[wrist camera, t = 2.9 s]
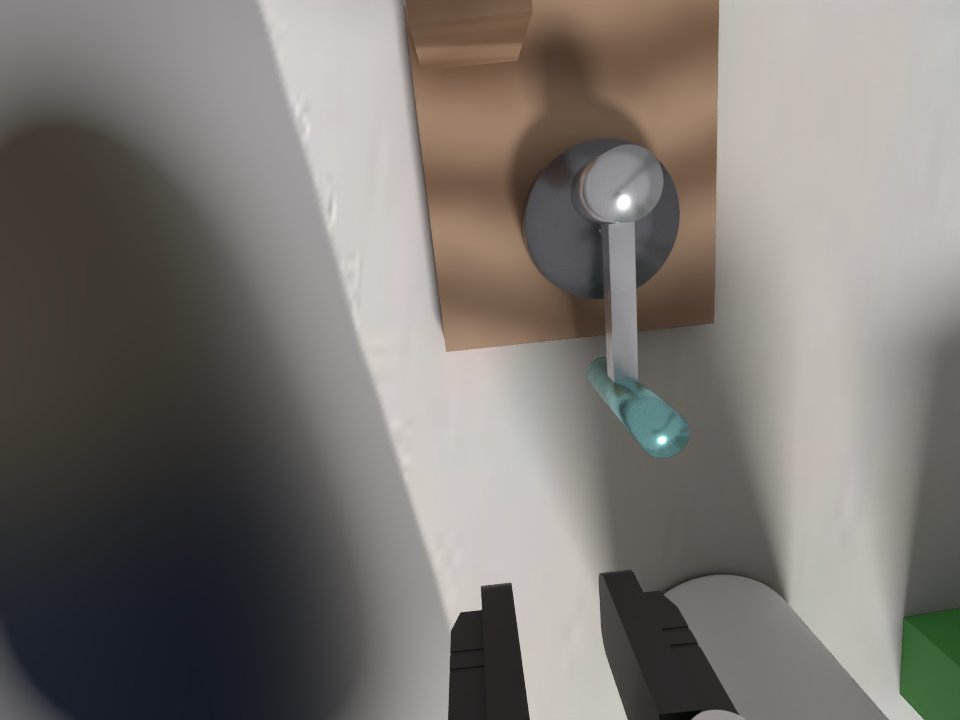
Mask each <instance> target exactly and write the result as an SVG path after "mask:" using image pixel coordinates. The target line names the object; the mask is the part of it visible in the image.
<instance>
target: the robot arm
mask: <svg viewBox="0 0 960 720" xmlns="http://www.w3.org/2000/svg"><path fill="white" fill-rule="evenodd" d="M599 595H600V615H601V631H602V638H603V643H604V648H605V652H606V656H607V659H608V662H609V665H610V668H611V671H612V674H613V677H614V680H615V683H616V686H617V689H618V692H619V695H620V698H621V701H622V704H623V707H624V710H625V713H626V716H627V719H628V720H747V719H746V718H744V717H742V716H740V715H739V713H738V712H737V710H736V708H735V707H734V705H733V703H732V701H731V700H730V698H729V696H728V694H727V693H726V691H725V689H724V687H723V686H722V684H721V682H720V680H719V679H718V677H717V675H716V673H715V672H714V670H713V668H712V666H711V665H710V663H709V661H708V659H707V658H706V656H705V654H704V652H703V651H702V649H701V647H700V646H698V642H697V640H696V638H695V636H694V635H693V633H692V631H691V630H689V627H688V624H687V622H686V621H685V619H684V617H683V615H682V614H681V612H680V610H679V608H678V607H677V606H676V605H675V604H674V603H673V602H671V601H670V600H669V599H668V598H667V597H666V596H664V595H663V594H662V593H661V592H660V591H654V592H645V593H643V591H642V589H641V587H640V585H639V583H638V581H637V579H636V577H635V575H634V573H633V572H632V571H631V570H624V571H615V572H606V573H600V574H599ZM481 597H482V610H480V611H470V612H461V613H460V615H459V617H458V619H457V621H456V623H455V625H454V626H453V628H452V630H451V648H450V649H451V650H450V653H451V656H450V679H449V681H450V682H449V711H448V720H530V718H529V711H528V703H527V696H526V688H525V681H524V674H523V666H522V659H521V651H520V644H519V636H518V629H517V622H516V614H515V607H514V599H513V592H512V585H511V583H504V584H495V585H486V586H481Z"/></svg>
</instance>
